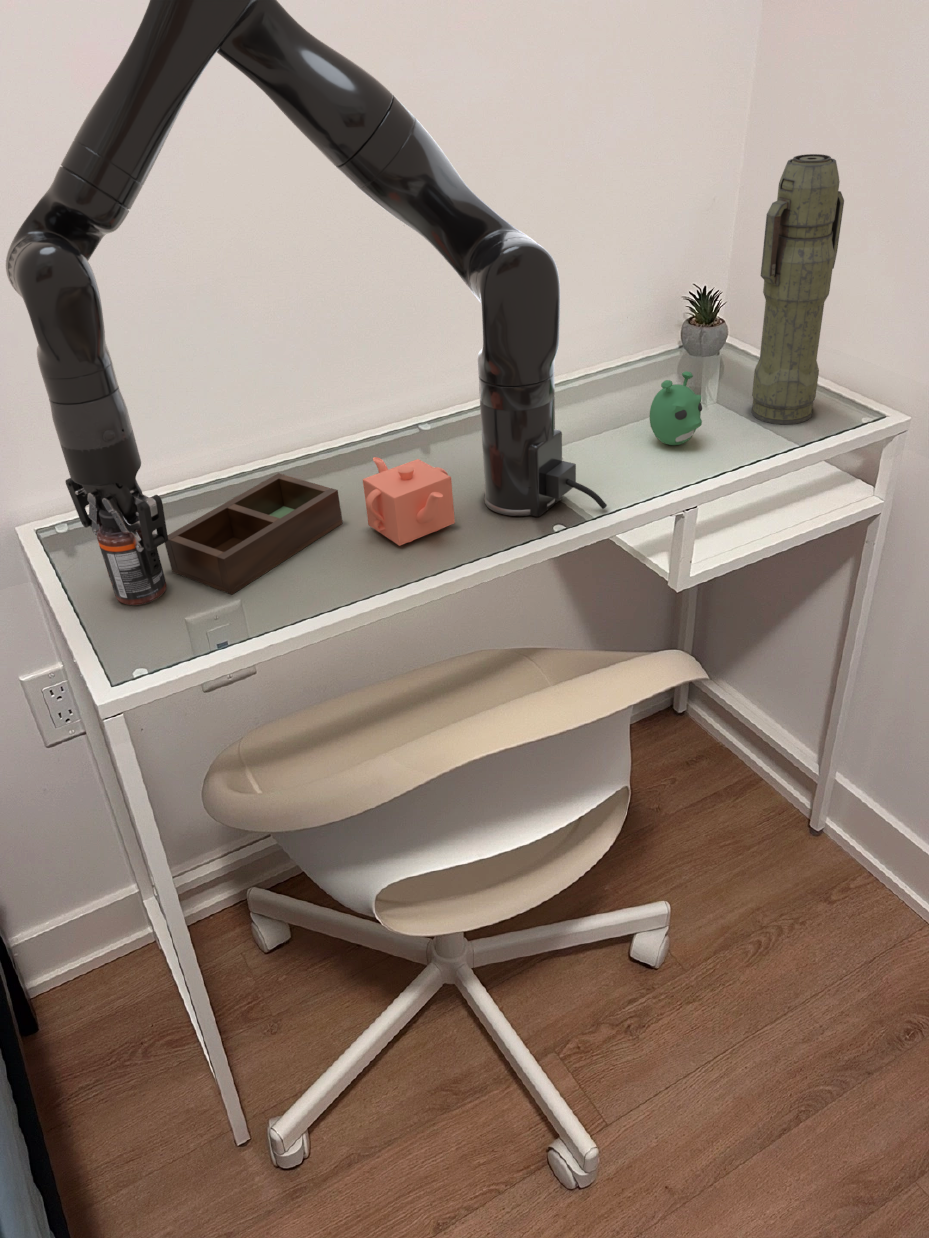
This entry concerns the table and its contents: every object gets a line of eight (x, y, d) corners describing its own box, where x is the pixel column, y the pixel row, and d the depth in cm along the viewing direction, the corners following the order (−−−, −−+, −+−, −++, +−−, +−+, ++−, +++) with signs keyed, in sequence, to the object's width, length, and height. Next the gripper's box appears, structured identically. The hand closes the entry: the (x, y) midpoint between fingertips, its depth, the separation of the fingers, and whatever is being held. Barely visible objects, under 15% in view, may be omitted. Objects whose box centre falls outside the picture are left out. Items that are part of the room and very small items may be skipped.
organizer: (342, 523, 129) (337, 489, 127) (231, 595, 116) (223, 559, 114) (284, 505, 135) (278, 472, 132) (172, 572, 122) (162, 537, 119)
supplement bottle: (121, 583, 120) (96, 498, 114) (171, 578, 121) (148, 493, 114) (111, 610, 115) (84, 523, 109) (163, 604, 116) (139, 517, 109)
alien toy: (679, 459, 138) (683, 390, 133) (638, 443, 144) (640, 376, 138) (712, 444, 142) (718, 376, 136) (671, 429, 147) (675, 362, 141)
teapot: (405, 567, 119) (398, 505, 114) (341, 523, 129) (332, 463, 125) (485, 534, 125) (481, 473, 120) (417, 494, 135) (411, 436, 130)
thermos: (730, 414, 150) (753, 161, 130) (786, 394, 155) (815, 147, 135) (776, 432, 144) (806, 169, 124) (832, 411, 149) (870, 154, 129)
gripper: (167, 432, 105) (201, 569, 115) (82, 408, 113) (120, 539, 122) (110, 459, 101) (150, 600, 110) (24, 432, 108) (69, 567, 117)
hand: (134, 567), depth 116 cm, fingers closed on supplement bottle, 6 cm apart
